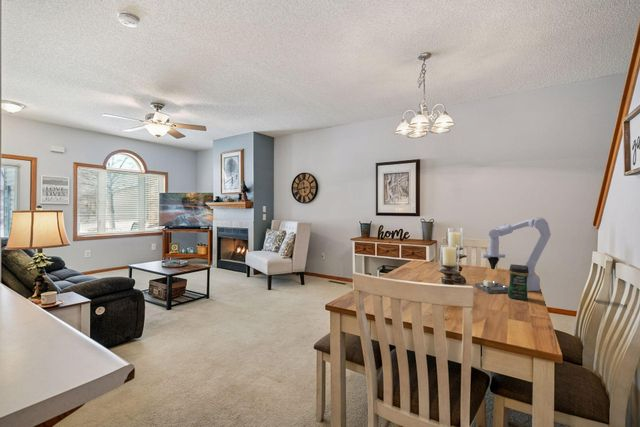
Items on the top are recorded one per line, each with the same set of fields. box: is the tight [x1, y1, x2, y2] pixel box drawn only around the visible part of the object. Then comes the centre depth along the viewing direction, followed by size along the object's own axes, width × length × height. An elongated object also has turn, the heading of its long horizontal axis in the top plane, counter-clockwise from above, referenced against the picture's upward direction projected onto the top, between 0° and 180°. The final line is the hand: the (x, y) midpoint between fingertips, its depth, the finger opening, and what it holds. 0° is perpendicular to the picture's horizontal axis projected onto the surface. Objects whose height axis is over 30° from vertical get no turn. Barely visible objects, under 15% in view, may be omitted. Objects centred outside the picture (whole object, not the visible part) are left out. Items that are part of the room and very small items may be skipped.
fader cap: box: [483, 279, 492, 287], centre depth 203 cm, size 2×4×3 cm, turn 5°
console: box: [474, 280, 509, 294], centre depth 203 cm, size 16×14×3 cm
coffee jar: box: [507, 264, 529, 300], centre depth 187 cm, size 10×8×19 cm
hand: (492, 268), depth 214 cm, fingers closed
